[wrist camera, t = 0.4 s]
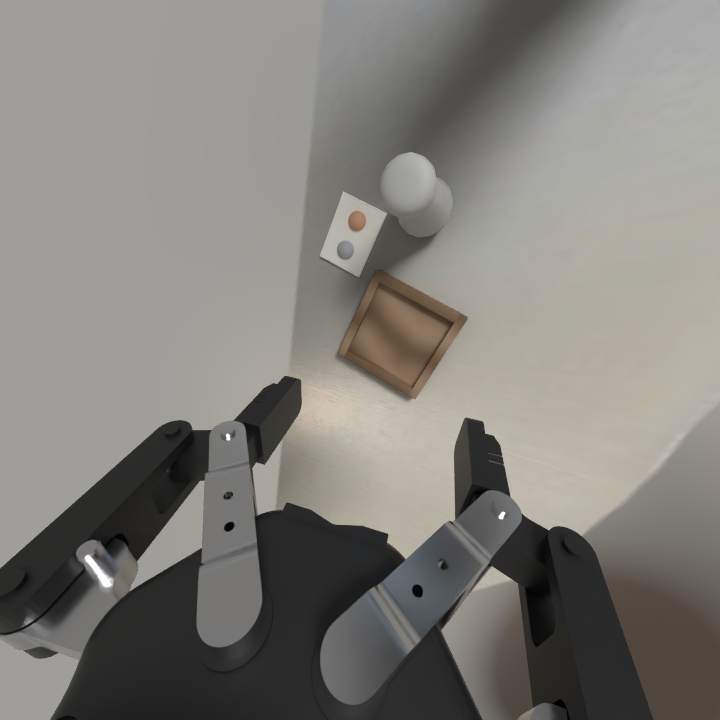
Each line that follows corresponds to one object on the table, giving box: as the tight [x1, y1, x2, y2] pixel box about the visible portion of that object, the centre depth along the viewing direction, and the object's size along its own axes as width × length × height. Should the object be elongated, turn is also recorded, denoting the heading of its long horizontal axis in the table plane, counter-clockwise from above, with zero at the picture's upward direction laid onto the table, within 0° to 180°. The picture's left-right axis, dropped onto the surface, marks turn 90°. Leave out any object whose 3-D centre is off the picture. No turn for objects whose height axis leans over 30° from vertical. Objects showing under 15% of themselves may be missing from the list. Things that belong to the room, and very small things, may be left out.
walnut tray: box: [338, 270, 467, 399], centre depth 37 cm, size 12×12×2 cm
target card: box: [320, 191, 387, 277], centre depth 36 cm, size 8×6×1 cm
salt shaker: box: [379, 152, 453, 238], centre depth 27 cm, size 6×6×13 cm
